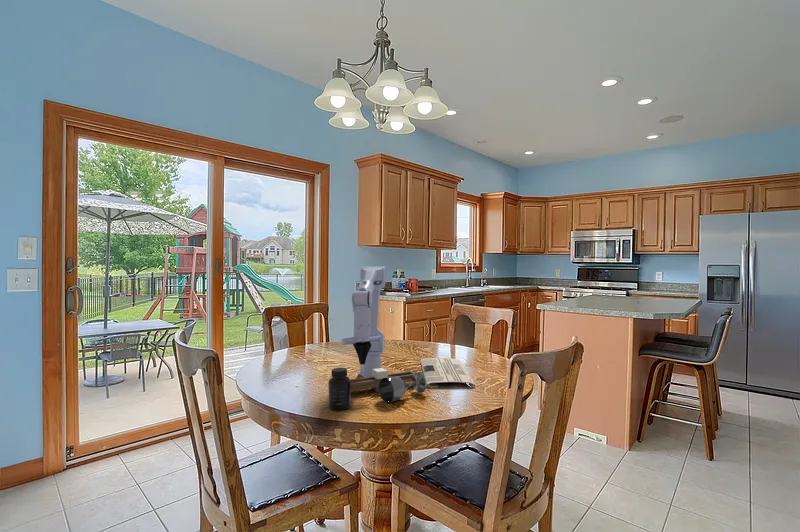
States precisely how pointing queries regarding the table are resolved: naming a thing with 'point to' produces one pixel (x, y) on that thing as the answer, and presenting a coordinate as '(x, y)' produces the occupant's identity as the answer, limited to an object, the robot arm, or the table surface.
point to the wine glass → (399, 387)
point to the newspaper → (444, 371)
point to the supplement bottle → (339, 390)
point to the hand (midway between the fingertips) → (362, 363)
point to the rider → (380, 373)
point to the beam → (377, 381)
